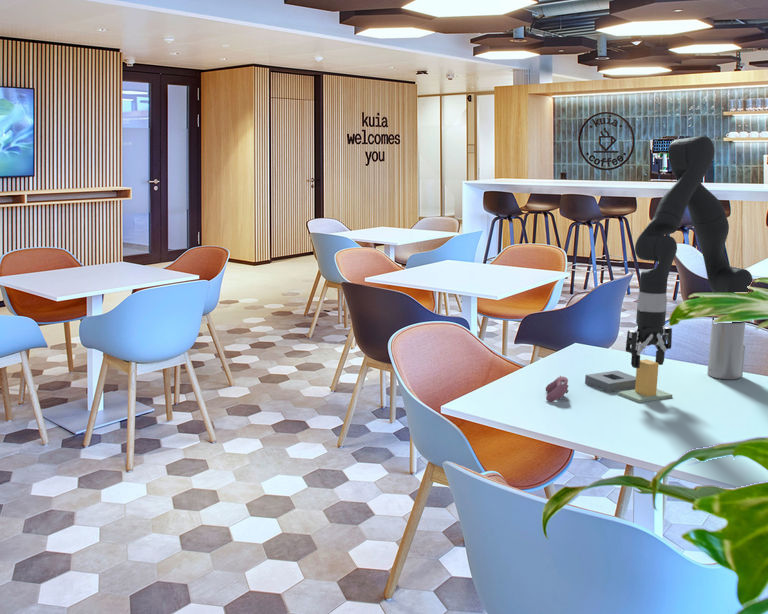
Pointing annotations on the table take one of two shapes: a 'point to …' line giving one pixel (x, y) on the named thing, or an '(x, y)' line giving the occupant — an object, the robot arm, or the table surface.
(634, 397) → the sage mat
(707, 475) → the table surface
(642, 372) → the amber plug
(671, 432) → the table surface
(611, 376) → the graphite dock
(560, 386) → the pink toy
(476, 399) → the table surface
